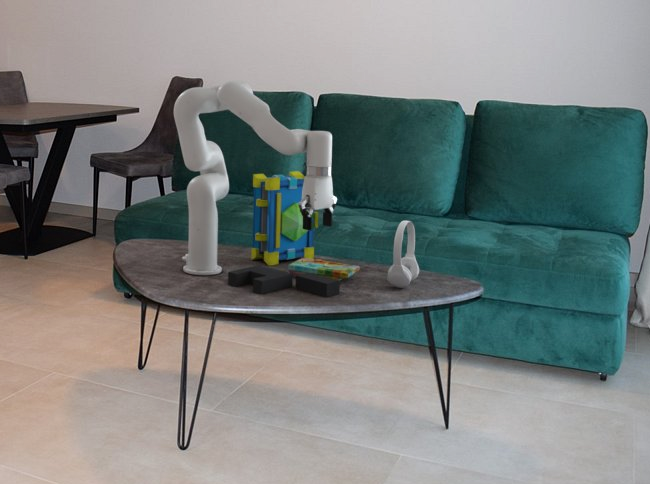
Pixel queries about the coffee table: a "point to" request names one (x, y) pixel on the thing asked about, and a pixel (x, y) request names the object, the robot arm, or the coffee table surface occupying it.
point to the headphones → (407, 265)
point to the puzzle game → (322, 268)
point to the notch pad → (261, 278)
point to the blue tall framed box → (280, 219)
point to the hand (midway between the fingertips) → (317, 227)
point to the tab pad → (317, 284)
